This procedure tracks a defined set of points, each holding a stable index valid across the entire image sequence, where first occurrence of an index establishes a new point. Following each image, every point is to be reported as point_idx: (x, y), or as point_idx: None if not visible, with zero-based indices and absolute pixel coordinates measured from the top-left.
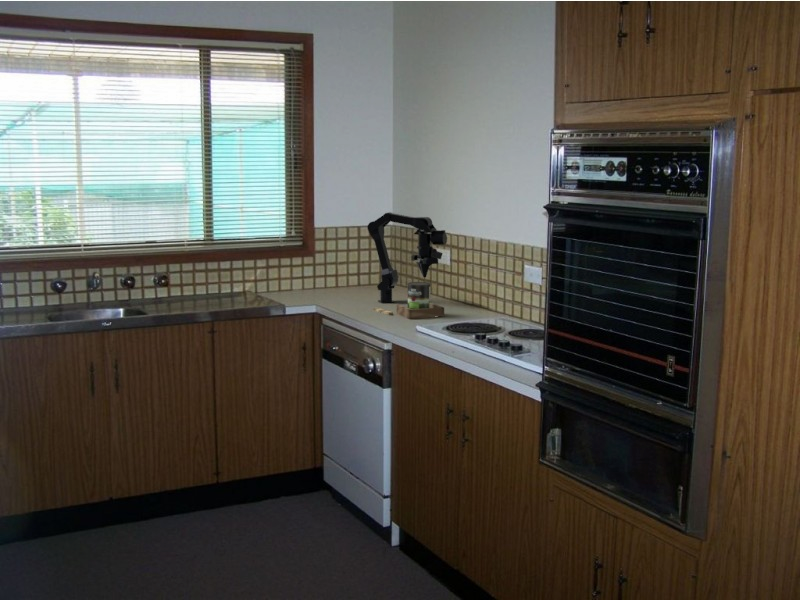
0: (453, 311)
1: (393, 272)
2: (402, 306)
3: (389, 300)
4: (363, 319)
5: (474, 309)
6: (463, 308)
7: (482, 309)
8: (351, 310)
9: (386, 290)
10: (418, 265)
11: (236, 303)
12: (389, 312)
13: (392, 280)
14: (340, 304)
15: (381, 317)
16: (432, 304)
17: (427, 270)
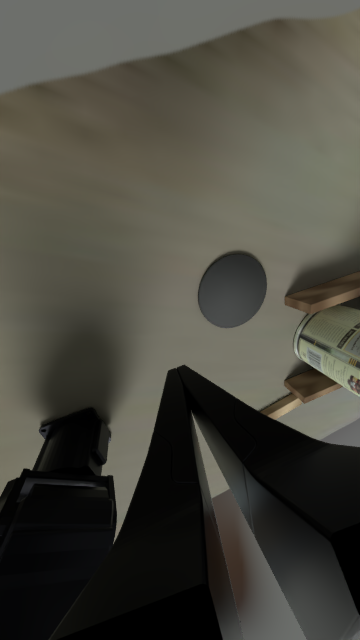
0: (319, 210)
1: (66, 607)
2: (334, 387)
3: (105, 428)
4: (315, 435)
5: (320, 77)
6: (279, 134)
7: (337, 20)
8: (214, 474)
9: (112, 477)
10: (204, 603)
11: None
12: (300, 403)
13: (111, 521)
14: (123, 515)
15: (311, 409)
16: (346, 300)
17: (240, 405)
